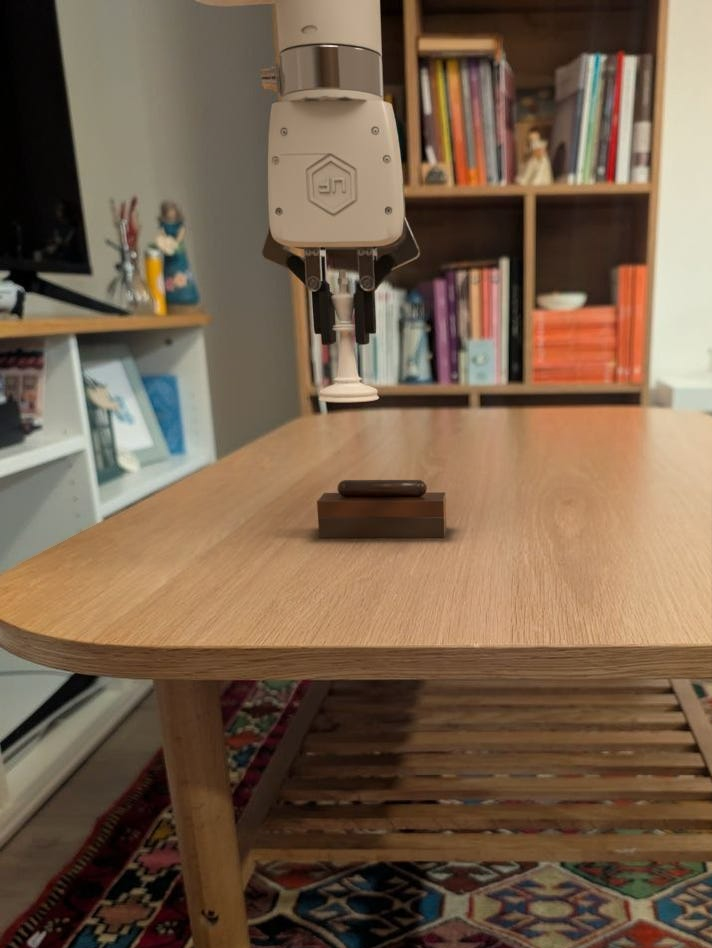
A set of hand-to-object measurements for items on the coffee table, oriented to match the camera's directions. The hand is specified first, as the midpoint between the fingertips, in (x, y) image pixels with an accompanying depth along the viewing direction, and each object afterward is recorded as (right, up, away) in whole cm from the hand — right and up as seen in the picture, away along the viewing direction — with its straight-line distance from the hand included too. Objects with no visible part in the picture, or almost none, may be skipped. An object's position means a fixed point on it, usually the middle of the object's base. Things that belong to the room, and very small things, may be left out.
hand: (346, 342), depth 77 cm
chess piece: (0, -4, +2) cm, 5 cm away
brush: (+1, -14, +16) cm, 21 cm away
